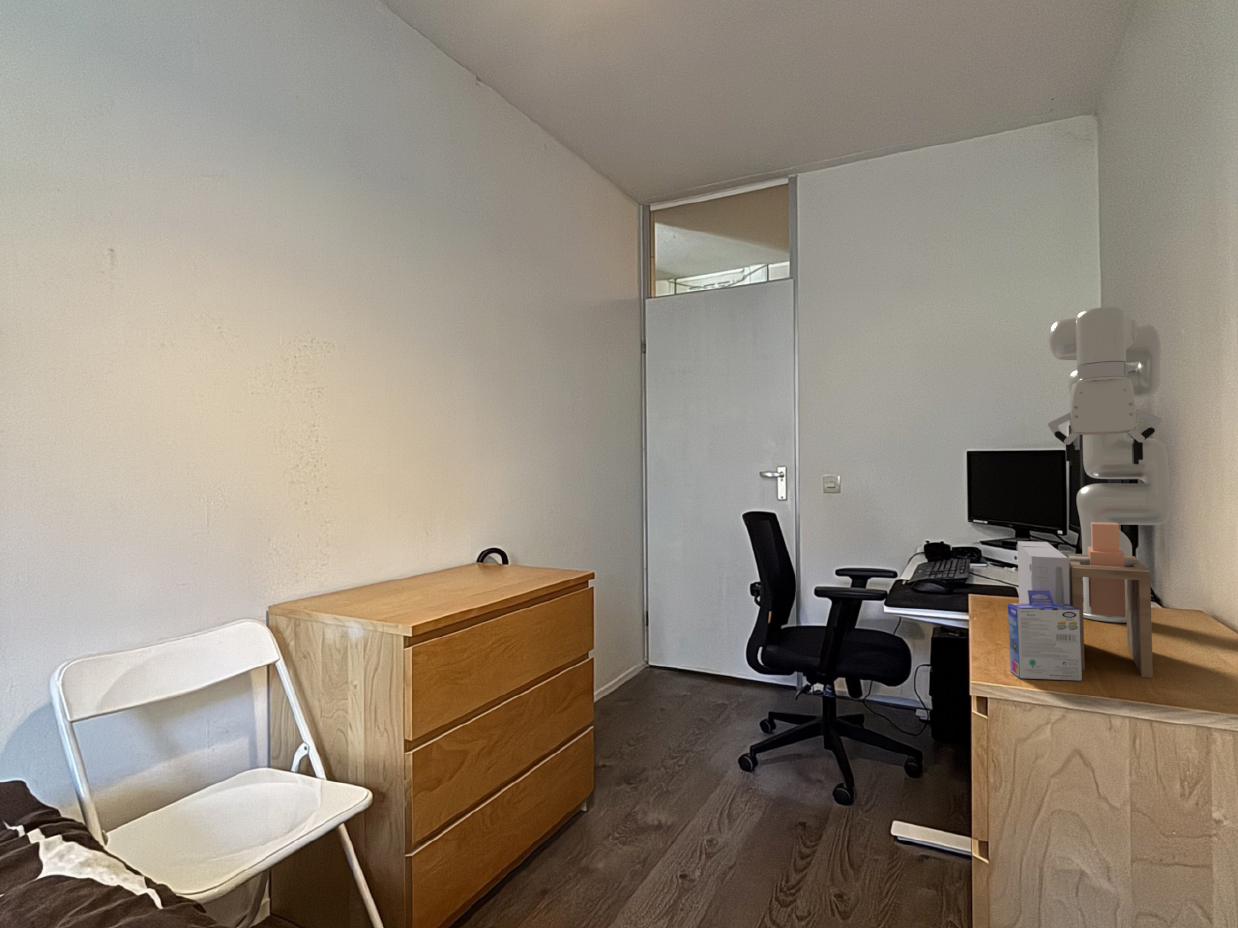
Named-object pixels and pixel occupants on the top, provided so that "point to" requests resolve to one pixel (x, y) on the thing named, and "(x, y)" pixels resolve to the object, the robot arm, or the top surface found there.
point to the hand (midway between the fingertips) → (1103, 464)
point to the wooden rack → (1135, 603)
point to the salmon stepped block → (1106, 552)
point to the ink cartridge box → (1044, 639)
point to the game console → (1042, 572)
